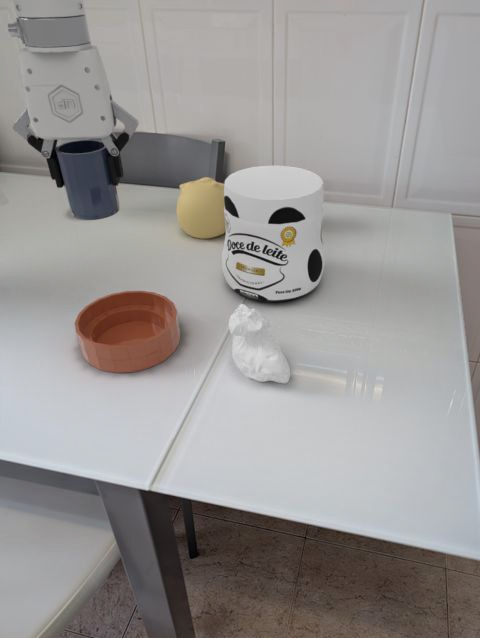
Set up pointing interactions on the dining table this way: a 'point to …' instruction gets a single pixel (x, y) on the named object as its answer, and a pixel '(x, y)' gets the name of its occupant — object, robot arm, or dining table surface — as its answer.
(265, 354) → the bust
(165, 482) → the dining table surface
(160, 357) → the bowl
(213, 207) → the sculpture
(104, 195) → the cup
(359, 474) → the dining table surface
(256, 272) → the white doce de leite
